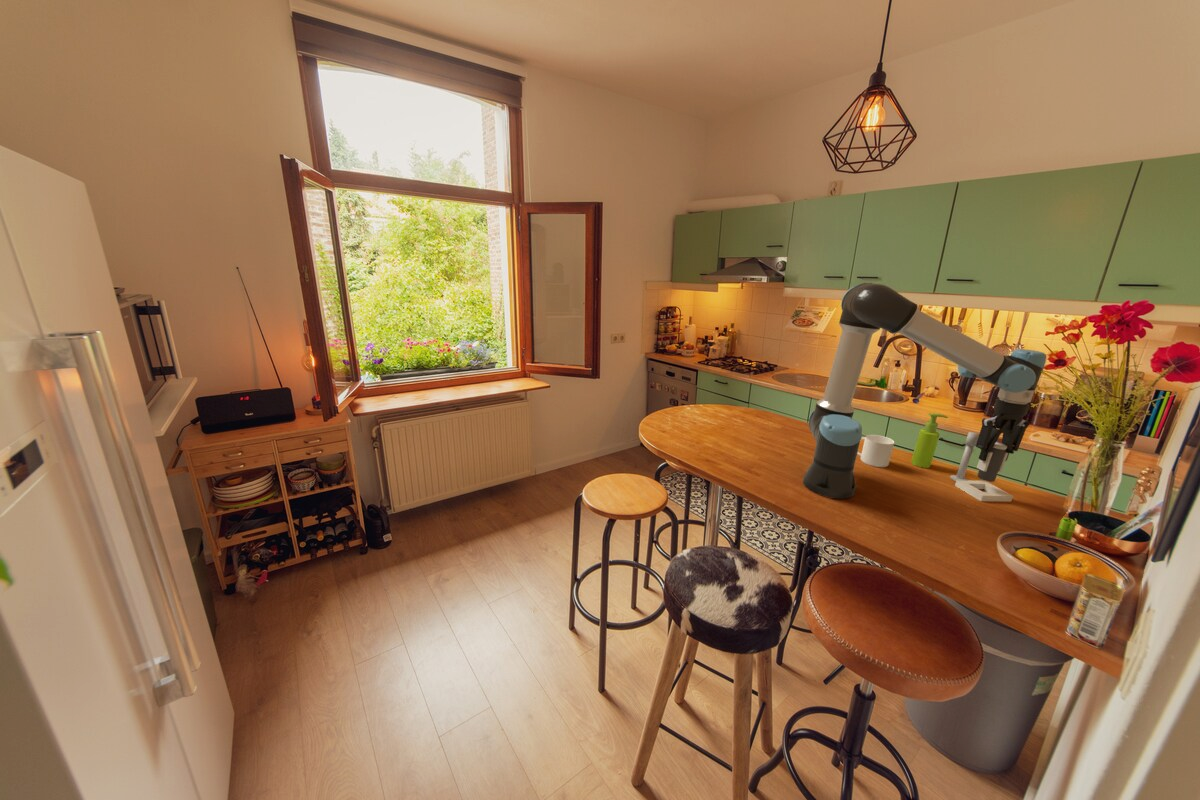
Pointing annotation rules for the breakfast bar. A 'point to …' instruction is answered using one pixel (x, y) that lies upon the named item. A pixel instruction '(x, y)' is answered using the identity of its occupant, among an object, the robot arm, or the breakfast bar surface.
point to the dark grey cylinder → (993, 463)
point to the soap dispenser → (926, 443)
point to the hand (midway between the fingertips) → (988, 469)
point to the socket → (977, 483)
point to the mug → (876, 450)
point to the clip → (973, 439)
